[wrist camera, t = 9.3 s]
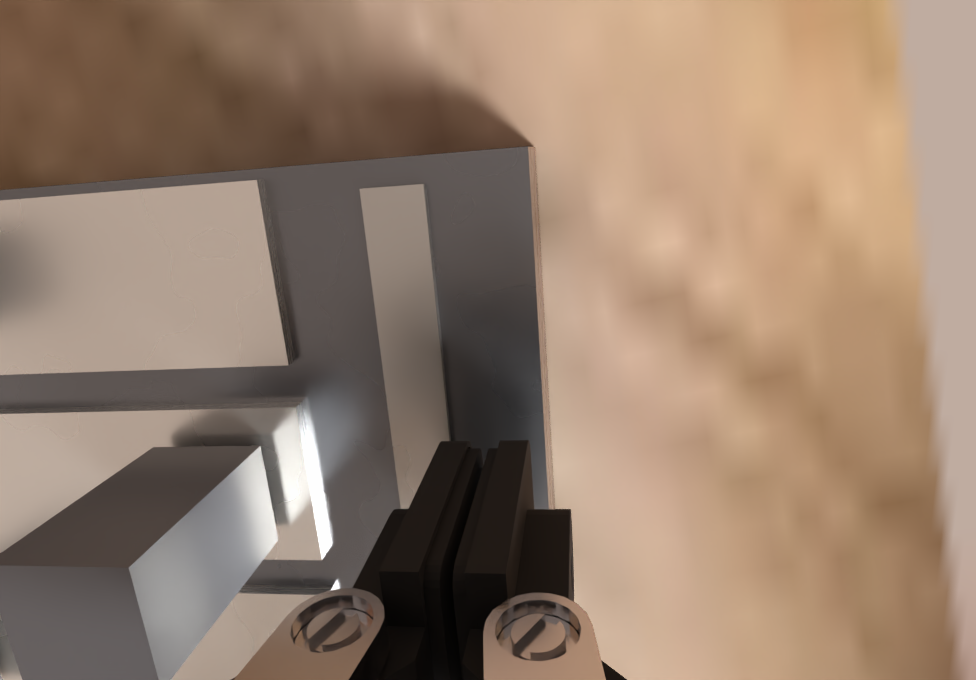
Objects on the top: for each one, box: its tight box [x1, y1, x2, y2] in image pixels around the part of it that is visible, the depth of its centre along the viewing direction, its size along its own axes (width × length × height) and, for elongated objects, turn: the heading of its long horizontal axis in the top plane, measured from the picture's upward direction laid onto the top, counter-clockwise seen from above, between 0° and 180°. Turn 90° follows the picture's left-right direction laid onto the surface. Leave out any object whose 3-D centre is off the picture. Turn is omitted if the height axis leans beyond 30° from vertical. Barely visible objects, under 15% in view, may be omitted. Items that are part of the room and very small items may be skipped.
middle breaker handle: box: [0, 446, 278, 680], centre depth 11 cm, size 2×2×4 cm
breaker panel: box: [0, 146, 555, 680], centre depth 15 cm, size 13×22×2 cm, turn 94°
